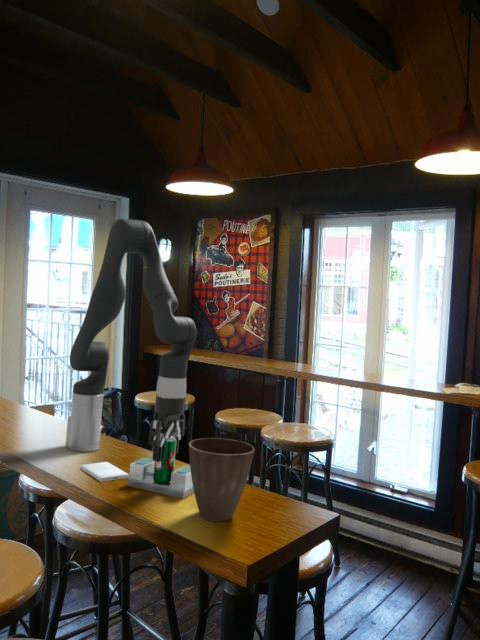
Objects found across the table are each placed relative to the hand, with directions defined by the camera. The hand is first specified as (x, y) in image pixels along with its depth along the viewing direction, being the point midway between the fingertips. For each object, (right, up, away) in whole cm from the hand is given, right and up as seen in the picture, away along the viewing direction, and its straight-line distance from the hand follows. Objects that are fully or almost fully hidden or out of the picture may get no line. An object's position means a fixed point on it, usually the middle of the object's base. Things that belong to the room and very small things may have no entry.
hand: (165, 457), depth 140 cm
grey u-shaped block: (-1, -8, 0) cm, 8 cm away
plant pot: (+13, -10, -15) cm, 23 cm away
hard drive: (-18, -7, +8) cm, 20 cm away
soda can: (-1, -7, 0) cm, 7 cm away
